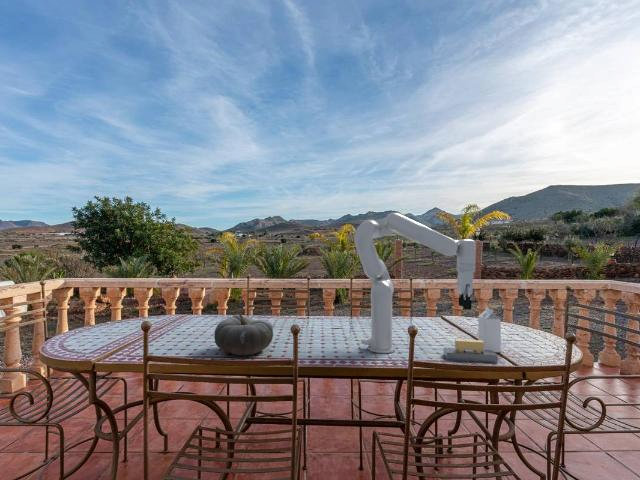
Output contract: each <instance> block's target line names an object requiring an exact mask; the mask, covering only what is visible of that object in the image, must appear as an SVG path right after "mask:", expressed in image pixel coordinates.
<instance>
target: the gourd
mask: <svg viewBox="0 0 640 480" xmlns="http://www.w3.org/2000/svg"><path fill="white" fill-rule="evenodd" d="M213 334H214V342H215V345H216V346H217V348H219V349H220V350H222V352H223V353H227V354H232V355H233V356H234V355H235V356H244V357H245V356H251V355H252V356H253V355H255V354H258V353H260V352H262V351H263V350H265V349H267V348H268V347H269V346H270V344H271V343H272V341H273V338H274V329H273V325H272V323H271V322H270V321H268V320H266V319H253V318H252V317H249V316H245V315H243V314H242V313H241V312H240V313H239V314H234V315H232V316H229V317H228V318H226V319H224V320H221V321H220V322H219V323H218V324H217V325H216V327H215V329H214V333H213Z"/></svg>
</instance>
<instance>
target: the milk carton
mask: <svg viewBox="0 0 640 480" xmlns="http://www.w3.org/2000/svg"><path fill="white" fill-rule="evenodd" d="M477 319H478V320H477V321H478V323H477V327H478V329H477V334H478V337H477V340H480V341H483V342H484V350H492V351H493V352H494V353H501V352H502V351H501V350H502V349H501V348H502V347H501V342H502V341H501V340H502V337H501V335H502V334H501V333H502V330H501V329H502V327H501V326H502V325H501V324H502V323H501V318H500V317H499V316H497V315H496V314H495V312H494V309H490V308H487V307H486V308H485V310H483V312H481V313H480V314H479V315H478V316H477Z"/></svg>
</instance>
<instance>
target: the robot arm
mask: <svg viewBox="0 0 640 480" xmlns="http://www.w3.org/2000/svg"><path fill="white" fill-rule="evenodd" d="M391 234H397V235H399V236H402V238H403V237H404V238H406V239H408V240H410V241H412V242H414V243H416V244H420V245H423V246H424V247H427V248H430V249H432V250H434V251H436V252H438V253H440V254H442V255H443V256H446V257H450V256H456V272H457V279H456V280H457V281H456V293H458V296H459V297H458V306H460V307H462V309H463V310H468V311H470V310H472V303H473V302H472V294H473V290H474V282H473V281H474V278H473V277H474V273H475V272H476V249H477V247H476V246H477V245H476V244H477V243H476V241H475V240H473V239H454V238H451V237H449V236H447V235H444V234H443V233H441V232H438V231H436V230H434V229H432V228H429V226H426V225H425V224H422V223H420V222H418V221H417V220H416V221H415V220H414V219H411V218H409V217H407V216H405V215H402V214H401V213H399V212H391V213H389V214H388V215H386V217H384V218H383V217H382V218H379V219H376V220H373V219H366V220H363V222H361V223H360V224H359V225H358V227H357V228H356V230H355V233H354V246H355V249H356V253H357V255H358V258H359V261H360V263H361V265H362V268H363V272H364V274H365V276H366V277H367V278H369V281H370V283H371V289H370V309H371V311H370V312H371V313H370V315H371V316H370V317H371V319H370V323H371V326H370V328H371V329H370V339H369V338H368V339H361V340H360V341H361V342H360V344H361V345H364V346H365V345H366V346H367V351H370V352H373V353H377V354H391V353H393V352H395V351H396V347H395V346H394V345H393V294H394V291H395V288H394V284H393V281H392V279H391V277H390V276H391V275H390V274H389V271H388V268H387V266H386V264H385V262H384V261H383V260H382V259H381V258H380V257H379V253H378V252H377V248H376V246H375V244H374V239H377V238H381V237H385V236H388V235H391Z"/></svg>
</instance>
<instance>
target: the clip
mask: <svg viewBox="0 0 640 480" xmlns="http://www.w3.org/2000/svg"><path fill="white" fill-rule="evenodd" d="M454 348H456V349H457V352H464V350H475V353H481V351H484V342H483V341H480V340H478V339H477V340H475V339H459V338H457V339H456V338H455V339H454Z"/></svg>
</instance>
